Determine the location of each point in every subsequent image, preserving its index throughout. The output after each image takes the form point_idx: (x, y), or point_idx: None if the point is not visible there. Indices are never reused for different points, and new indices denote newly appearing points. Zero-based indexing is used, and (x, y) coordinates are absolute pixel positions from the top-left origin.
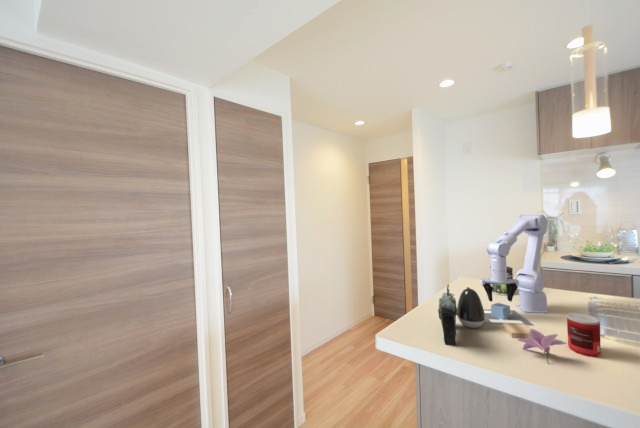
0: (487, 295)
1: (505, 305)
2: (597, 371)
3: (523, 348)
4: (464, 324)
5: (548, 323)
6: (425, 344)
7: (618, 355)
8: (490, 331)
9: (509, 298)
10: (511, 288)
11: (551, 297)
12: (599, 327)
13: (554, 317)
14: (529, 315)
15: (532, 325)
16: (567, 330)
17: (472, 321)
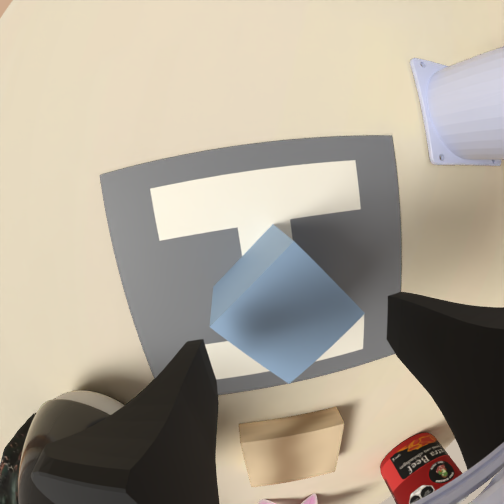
0: (168, 364)
1: (336, 310)
2: (361, 500)
3: (261, 501)
4: None
5: (455, 298)
6: None
7: (450, 434)
8: None
9: (401, 343)
10: (466, 453)
11: (499, 5)
12: None
13: (497, 213)
14: (435, 207)
15: (387, 355)
16: (404, 487)
17: None
